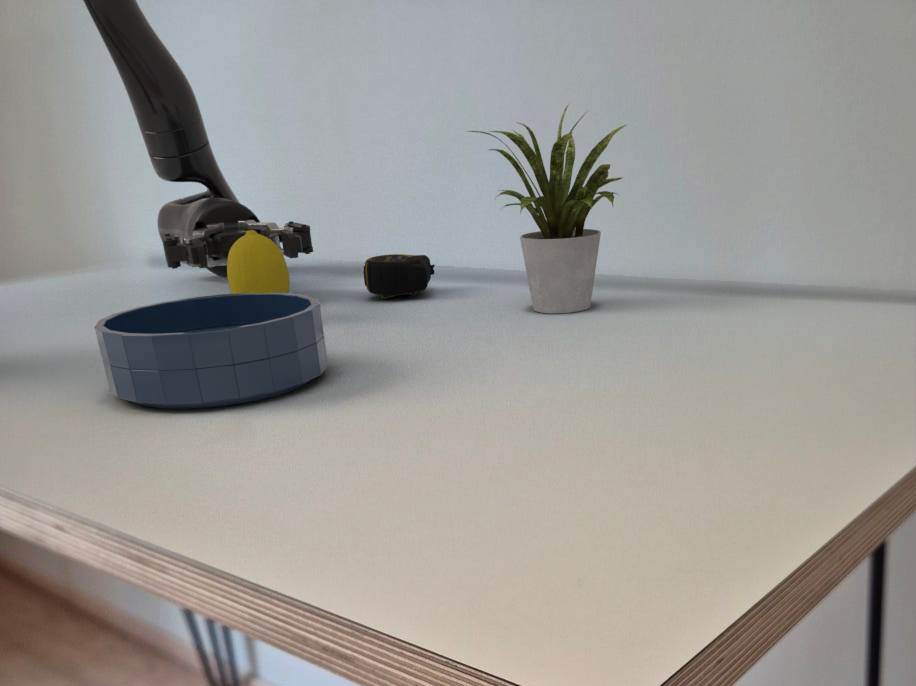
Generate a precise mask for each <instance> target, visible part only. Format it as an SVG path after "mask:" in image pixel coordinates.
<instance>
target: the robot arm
mask: <svg viewBox="0 0 916 686" xmlns="http://www.w3.org/2000/svg"><path fill="white" fill-rule="evenodd" d="M82 1H83V3H84V5H85V7H86V10H88V13H89V15H90V17H91V20H92V21H93V23H94V25H95V27H96V30H97V31H98V33H99V35H100V37H101V39H102V42H103V43H104V46H105V47H106V49H107V51H108V53H109V56H110V57H111V60H112V62H113V64H114V66H115V68H116V70H117V72H118V76H119V77H120V80H121V81H122V82H121V83H122V84H123V86H124V89H125V91H126V94H127V96H128V99H129V102H130V105H131V107H132V110H133V114H134V115H135V118H136V122H137V125H138V128H139V130H140V133H141V136H142V139H143V142H144V145H145V148H146V151H147V155H148V157H149V161H150V163H151V165H152V169H153V170H154V172H155V174H156V176H158V178H160V179H161V180H163V181H165V182H170V183H197V184H200V185H202V186H204V187H205V188H206V190H205V191H201V192H199V193H195V194H192V195H188V196H185V197H181V198H178V199H174V200H171V201H168V202H167V203H164V204H163V205H162V206H161V207H160V209H159V210H158V211H159V212H158V214H157V231H158V235H159V238H160V240H161V242H162V248H163V252H164V256H165V261H166V262H165V263H166V265H167V267H168V268H172V269H173V270H174V269H178V268H179V267H182V265H181V264H184V265H187V267H191V268H199V269H206V270H208V272H210V273H212V274H213V275H216V276H218V277H220V278H224V279H228V276H227V261H228V254H229V251H230V249H231V247H232V246H233V244H234V243H235V242H236V241H237V240H238V239H239V238H241V237H242V236H244V235H245V234H246V232H247V231H249V230H255V231H256V232H257V233H258V234H260V235H263V236H265V237H267V238H269V239H270V240H272V241H273V242H274V243H275V244H276V245H277V246H278V247H279V249H280V250H281V252H282V254H283V256H284V257H287V258H289V259H298V258H299V254H305V255H309V254H311V253H314V247H313V243H312V242H313V241H312V235H311V225H308V224H306V223H300V222H294V221H293V220H292V221H291V220H290V221H288V222H286V223H285V224H283V227H279V226H278V224H277V223H276V222H274V221H273V222H271V221H269V222H268V221H267V222H266V221H265V222H261V220H260V219H259V217H258V216H257V215H256V214H255V213H254V212H253V211H252V210H251V209H250V208H248V206H246V205H244V204H242V203H241V202H240V201H239V199H238V197H237V195H236V194H235V192H234V191H233V189H232V188H231V186H230V185H229V183H228V181H227V180H226V178H225V176H224V173H223V172H222V170H221V168H220V166H219V164H218V161H217V159H216V156H215V154H214V151H213V149H212V146H211V142H210V140H209V135H208V133H207V129H206V126H205V122H204V119H203V116H202V113H201V108H200V105H199V103H198V100H197V97H196V94H195V92H194V89H193V87H192V85H191V84H190V81H189V80H188V78H187V76H186V74H185V73H184V71H183V70H182V68H181V66H180V65H179V64H178V62H177V61H176V60H175V58H174V57H173V55H172V54H171V52H170V51H169V49H168V48H167V47H166V45H165V44H164V43H163V41H162V39H160V38H159V36H158V34H157V33H156V31H155V30H154V28H153V27H152V26H151V24H150V22H149V20H148V19H147V18H146V15H145V14H144V12H143V11H142V9H141V7H140V5H139V3H138V1H137V0H82ZM281 244H282V247H281Z"/></svg>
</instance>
